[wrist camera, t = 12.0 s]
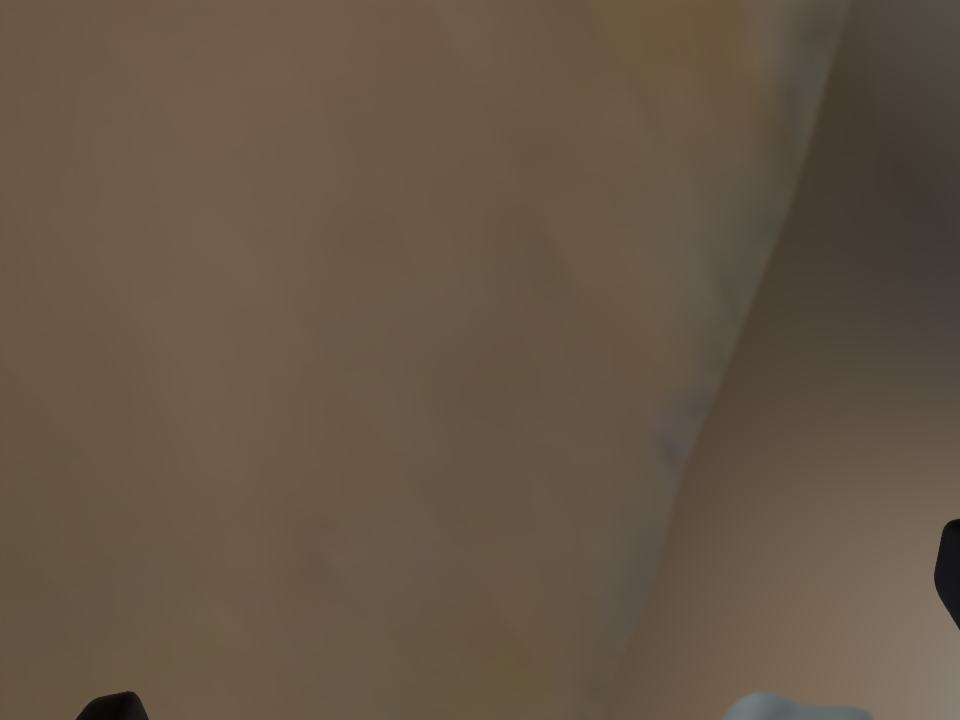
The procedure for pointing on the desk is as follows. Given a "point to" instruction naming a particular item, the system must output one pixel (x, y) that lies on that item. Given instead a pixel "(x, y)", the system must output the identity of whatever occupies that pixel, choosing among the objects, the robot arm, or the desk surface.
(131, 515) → the desk surface
